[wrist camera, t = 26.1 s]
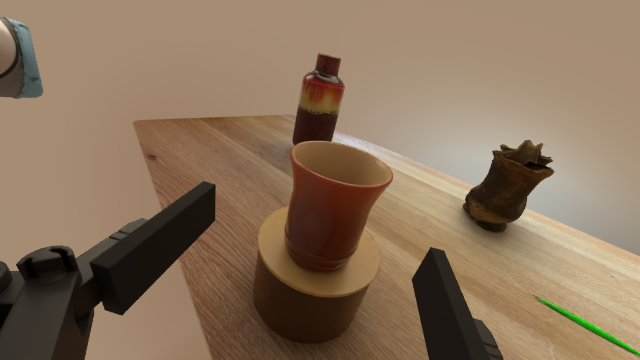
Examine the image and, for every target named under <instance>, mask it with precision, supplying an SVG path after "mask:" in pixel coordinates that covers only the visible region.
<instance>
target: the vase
mask: <svg viewBox="0 0 640 360" xmlns="http://www.w3.org/2000/svg"><path fill="white" fill-rule="evenodd" d="M340 62H341V58H337V57H333V56H329V55H325V54H321V53H319V54H318V57H317V62H316V67H315V70H314V71H312V72H309V73H308V74H306V75H305V76H304V77H303V82H302V87H301V93H300V99H299V104H298V110H297V116H296V122H295V128H294V134H293V144H294V145H296V144H298V143H301V142H306V141H328V142H331V141H332V137H333V133H334V129H335V125H336V122H337V117H338V114H339V109H340V105H341V101H342V97H343V93H344V88H345V86H344V83H343V81H341V79H340V78H339V77H338V71H339V67H340Z"/></svg>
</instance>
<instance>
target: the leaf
mask: <svg viewBox="0 0 640 360" xmlns="http://www.w3.org/2000/svg"><path fill="white" fill-rule="evenodd" d="M533 296H534V295H533ZM535 297H536V296H535ZM537 298H538V297H537ZM538 299H540V298H538ZM540 300H541V301H543V302H544V303H546V304H548V305H549V306H551V307H552V308H554V309H556V310H557V311H559V312H560V313H562V314H564V315H565V316H567V317H568V318H570V319H572V320H573V321H575V322H577V323H578V324H580V325H582V326H584V327H585V328H587V329H589V330H591V331H593V332H595V333H597V334H598V335H600V336H602V337H604V338H606V339H608V340H610V341H612V342H614V343H616V344H618V345H620V346H622V347H624V348H626V349H628V350H630V351H632V352H634V353H636V354H638V355H640V353H639V352H637V351H636V350H634V349H632V348H631V347H629V346H628V345H626V344H624V343H623V342H621V341H619V340H618V339H616V338H614V337H613V336H611V335H609V334H608V333H606V332H604V331H603V330H601V329H599V328H597V327H596V326H594V325H592V324H590V323H589V322H587V321H585V320H583V319H581V318H579V317H577V316H575V315H573V314H571V313H569V312H567V311H565V310H563V309H561V308H559V307H557V306H555V305H553V304H551V303H549V302H547V301H545V300H543V299H540Z"/></svg>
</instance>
